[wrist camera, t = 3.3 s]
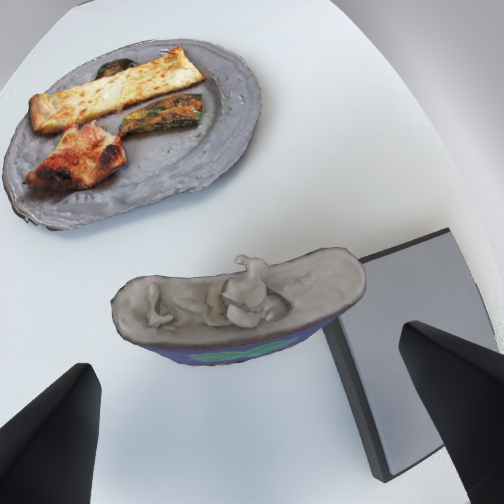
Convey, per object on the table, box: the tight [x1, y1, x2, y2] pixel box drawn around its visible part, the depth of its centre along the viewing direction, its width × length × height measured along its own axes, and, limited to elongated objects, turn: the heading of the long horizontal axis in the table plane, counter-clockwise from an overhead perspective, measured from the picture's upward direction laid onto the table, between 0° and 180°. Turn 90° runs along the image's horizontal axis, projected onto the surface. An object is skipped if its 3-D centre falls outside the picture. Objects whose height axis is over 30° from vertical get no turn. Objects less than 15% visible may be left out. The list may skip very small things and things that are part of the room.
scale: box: [322, 228, 499, 483], centre depth 17 cm, size 14×12×2 cm
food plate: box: [2, 38, 261, 231], centre depth 23 cm, size 25×23×4 cm
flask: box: [111, 247, 367, 366], centre depth 13 cm, size 9×3×11 cm, turn 101°
